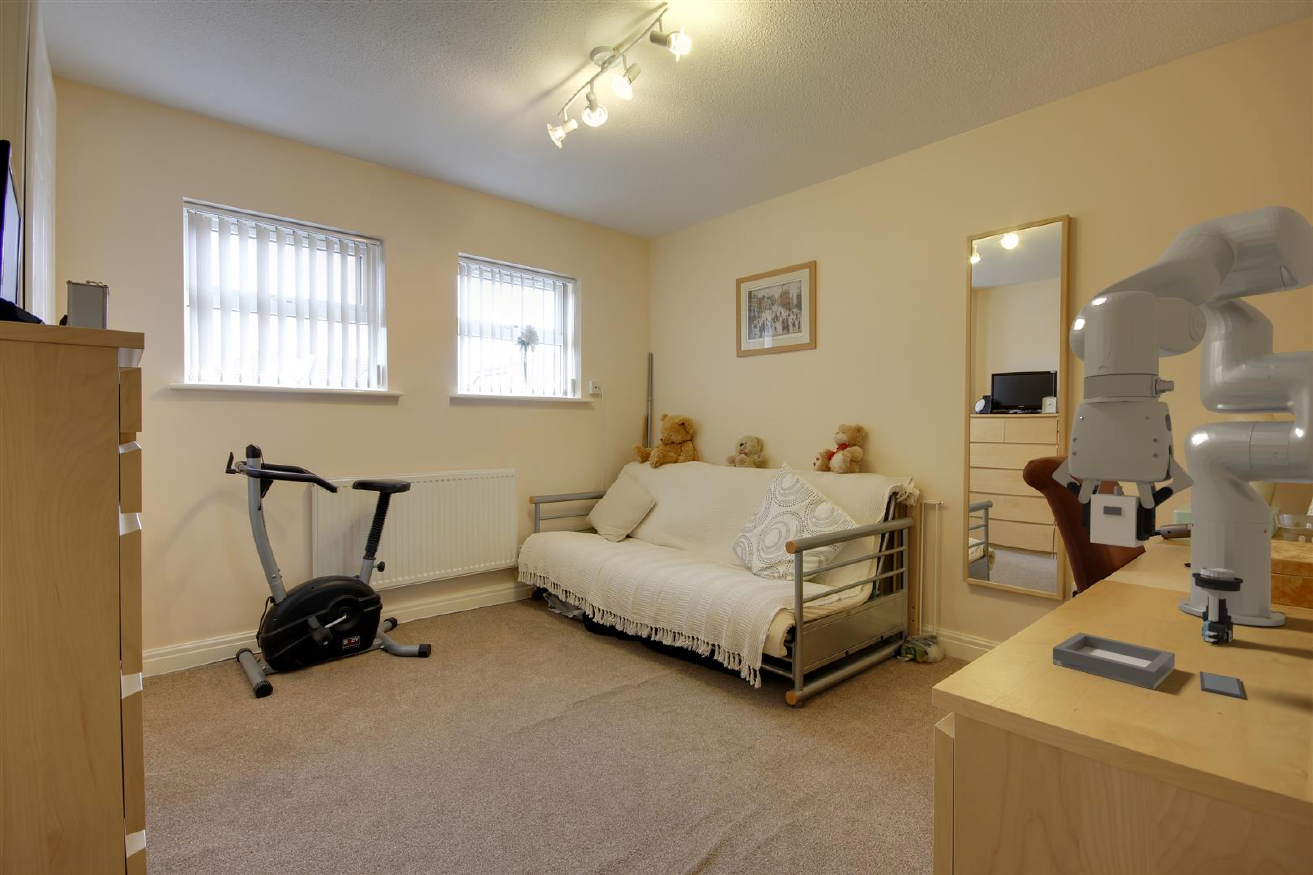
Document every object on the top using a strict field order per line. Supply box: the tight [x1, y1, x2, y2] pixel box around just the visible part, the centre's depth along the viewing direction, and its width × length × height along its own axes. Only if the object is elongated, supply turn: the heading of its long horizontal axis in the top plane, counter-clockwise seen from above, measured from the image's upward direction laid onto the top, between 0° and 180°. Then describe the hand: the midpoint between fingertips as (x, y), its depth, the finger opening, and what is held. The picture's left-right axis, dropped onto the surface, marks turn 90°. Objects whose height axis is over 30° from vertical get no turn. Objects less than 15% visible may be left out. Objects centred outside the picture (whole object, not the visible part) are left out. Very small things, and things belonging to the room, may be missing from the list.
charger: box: [1089, 485, 1146, 549], centre depth 76 cm, size 5×4×7 cm
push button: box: [1192, 567, 1243, 645], centre depth 85 cm, size 7×5×10 cm
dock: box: [1052, 632, 1176, 691], centre depth 75 cm, size 10×10×2 cm
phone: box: [1199, 671, 1246, 700], centre depth 70 cm, size 7×4×1 cm, turn 139°
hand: (1117, 535), depth 76 cm, fingers closed on charger, 4 cm apart
